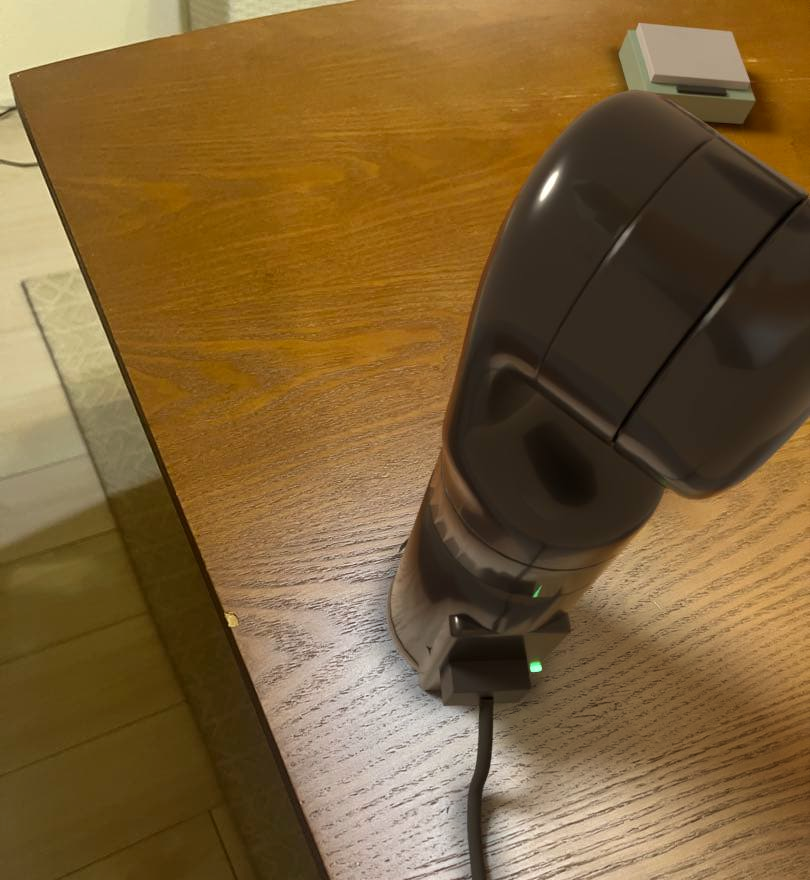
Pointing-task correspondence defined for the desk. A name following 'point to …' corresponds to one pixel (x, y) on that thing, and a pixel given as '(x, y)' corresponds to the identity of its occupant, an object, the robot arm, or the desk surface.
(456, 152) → the desk surface
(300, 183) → the desk surface
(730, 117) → the scale
